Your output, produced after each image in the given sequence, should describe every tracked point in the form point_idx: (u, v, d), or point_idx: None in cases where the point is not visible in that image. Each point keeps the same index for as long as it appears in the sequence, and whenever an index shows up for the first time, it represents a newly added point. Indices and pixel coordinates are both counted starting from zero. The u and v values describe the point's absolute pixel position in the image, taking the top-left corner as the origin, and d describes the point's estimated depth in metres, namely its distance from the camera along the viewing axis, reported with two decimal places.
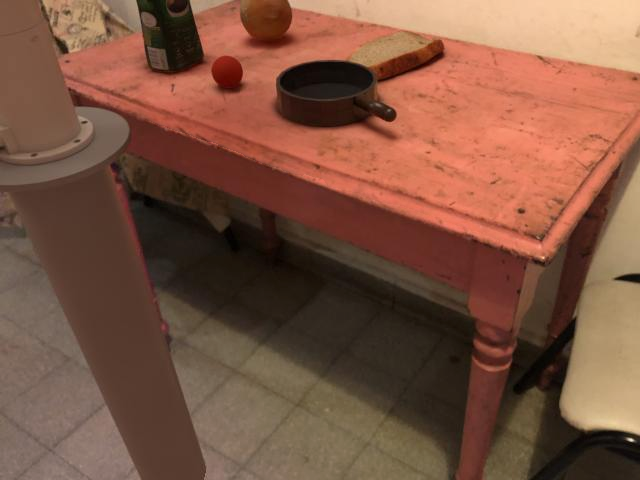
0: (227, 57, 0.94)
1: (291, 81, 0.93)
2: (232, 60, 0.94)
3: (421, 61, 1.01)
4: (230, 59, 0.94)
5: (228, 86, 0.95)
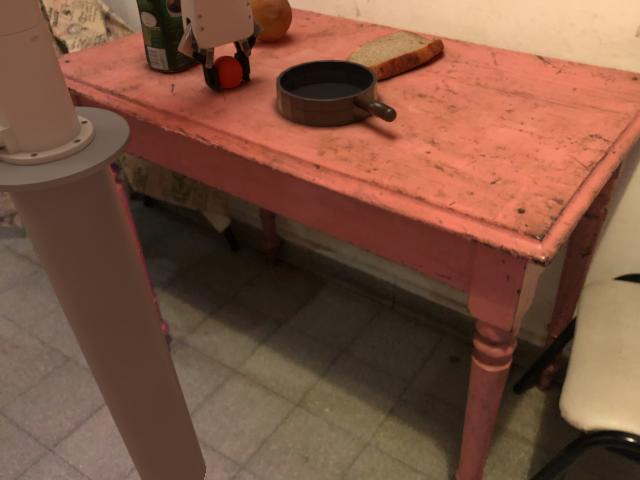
0: (227, 57, 0.94)
1: (291, 81, 0.93)
2: (232, 60, 0.94)
3: (421, 61, 1.01)
4: (230, 59, 0.94)
5: (228, 86, 0.95)
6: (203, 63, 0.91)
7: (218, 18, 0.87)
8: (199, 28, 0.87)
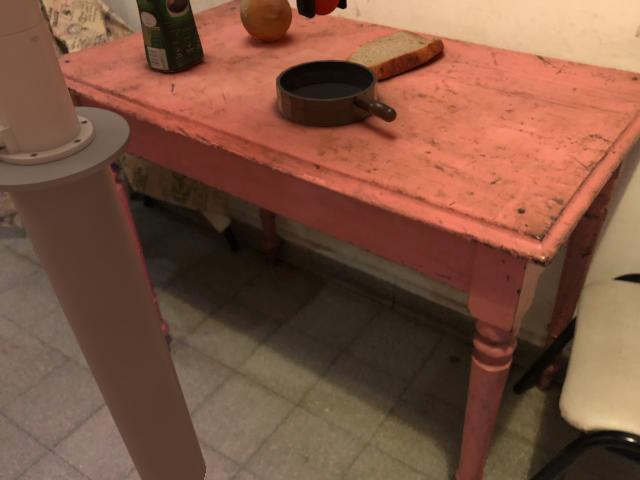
0: None
1: (291, 81, 0.93)
2: None
3: (421, 61, 1.01)
4: None
5: (323, 12, 0.81)
6: None
7: None
8: None
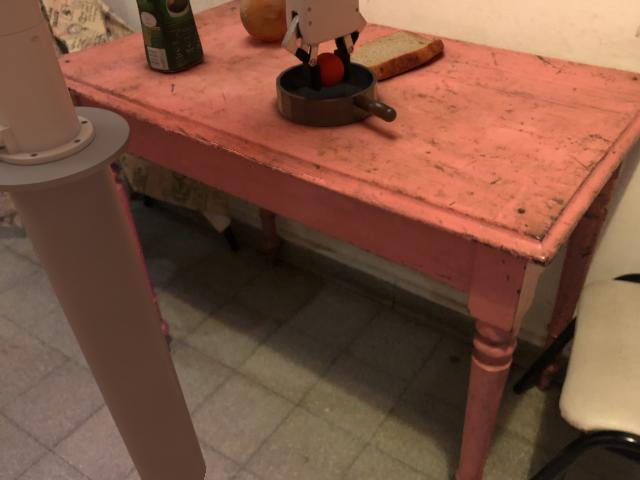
0: (329, 54, 0.86)
1: (291, 81, 0.93)
2: (334, 57, 0.86)
3: (421, 61, 1.01)
4: (332, 56, 0.86)
5: (329, 85, 0.88)
6: (306, 61, 0.84)
7: (327, 11, 0.80)
8: (307, 22, 0.79)
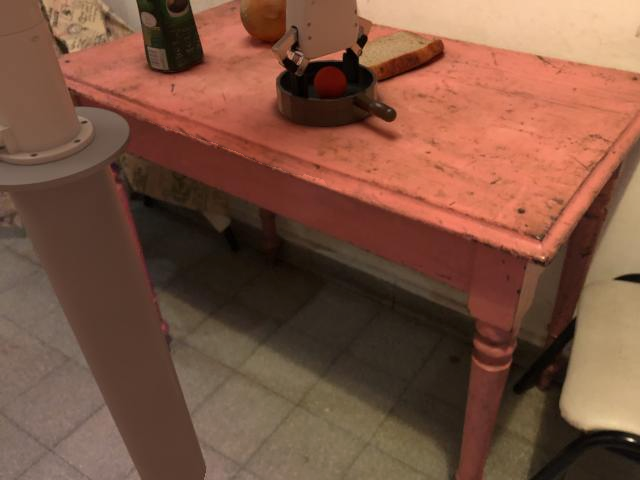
0: (335, 68, 0.89)
1: None
2: (339, 71, 0.88)
3: (421, 61, 1.01)
4: (338, 70, 0.88)
5: (330, 97, 0.89)
6: (293, 71, 0.83)
7: (326, 26, 0.81)
8: (307, 37, 0.80)
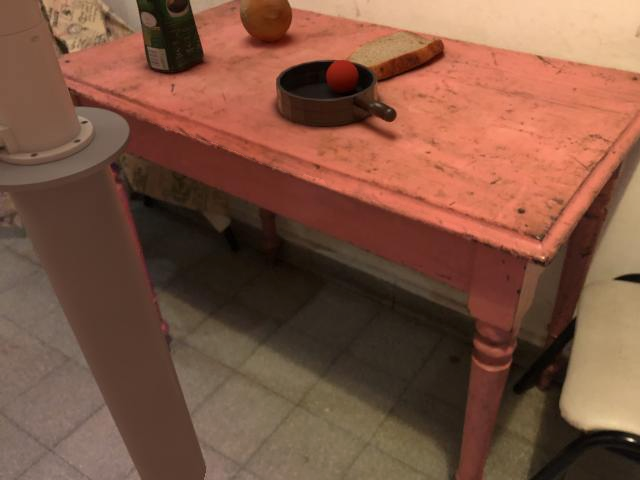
0: None
1: (291, 81, 0.93)
2: None
3: (421, 61, 1.01)
4: None
5: (341, 74, 0.89)
6: None
7: None
8: None
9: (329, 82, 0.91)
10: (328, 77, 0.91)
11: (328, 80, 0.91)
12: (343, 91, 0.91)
